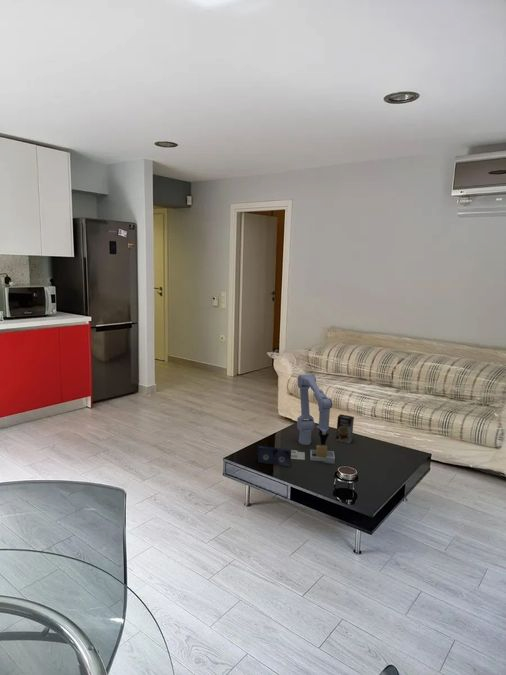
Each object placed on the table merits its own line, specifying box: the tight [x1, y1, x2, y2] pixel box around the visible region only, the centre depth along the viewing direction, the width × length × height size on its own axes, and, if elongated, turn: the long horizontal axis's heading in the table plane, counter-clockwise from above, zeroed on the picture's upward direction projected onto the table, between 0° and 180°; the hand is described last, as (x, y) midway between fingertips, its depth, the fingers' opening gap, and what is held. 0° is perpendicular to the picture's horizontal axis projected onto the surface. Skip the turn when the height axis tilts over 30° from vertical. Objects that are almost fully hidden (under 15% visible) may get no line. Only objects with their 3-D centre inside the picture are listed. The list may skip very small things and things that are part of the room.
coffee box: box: [335, 413, 355, 444], centre depth 287 cm, size 9×6×16 cm
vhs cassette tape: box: [257, 445, 292, 468], centre depth 250 cm, size 18×3×10 cm, turn 74°
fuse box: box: [290, 449, 306, 461], centre depth 262 cm, size 10×18×2 cm, turn 84°
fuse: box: [315, 444, 328, 457], centre depth 260 cm, size 3×6×7 cm, turn 84°
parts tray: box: [309, 449, 336, 465], centre depth 260 cm, size 10×14×3 cm
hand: (322, 441), depth 259 cm, fingers open, 7 cm apart
